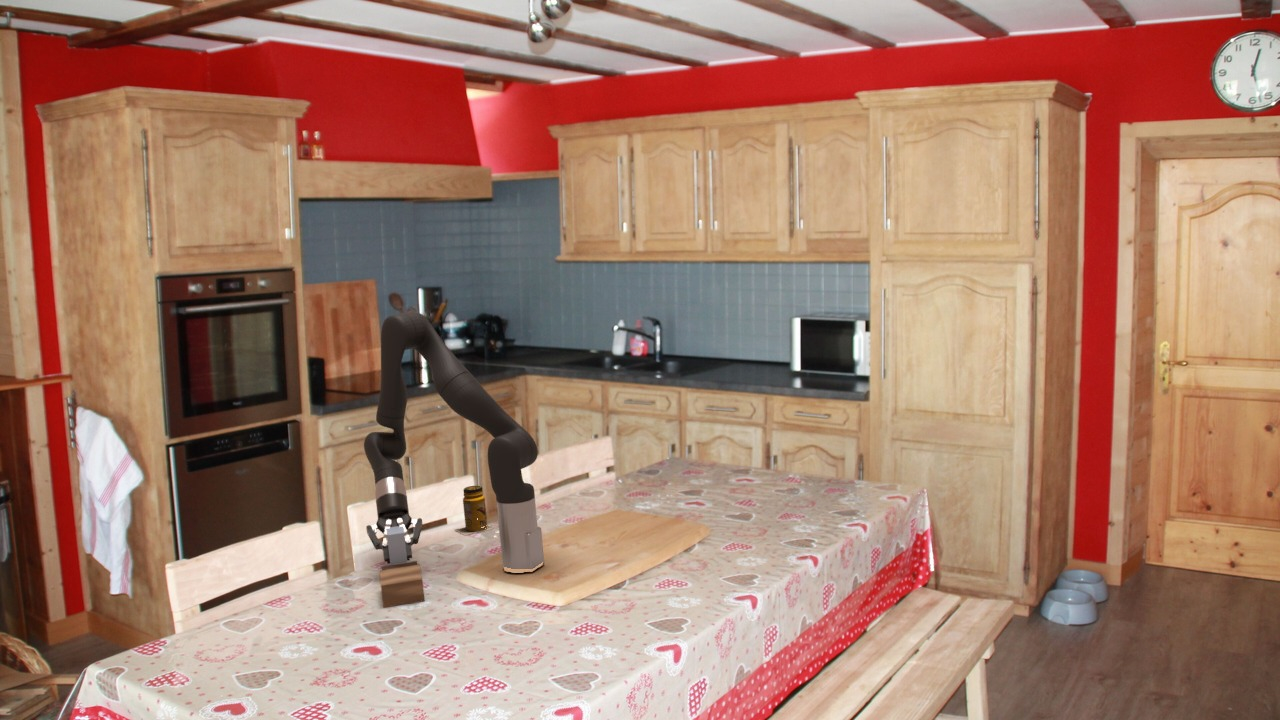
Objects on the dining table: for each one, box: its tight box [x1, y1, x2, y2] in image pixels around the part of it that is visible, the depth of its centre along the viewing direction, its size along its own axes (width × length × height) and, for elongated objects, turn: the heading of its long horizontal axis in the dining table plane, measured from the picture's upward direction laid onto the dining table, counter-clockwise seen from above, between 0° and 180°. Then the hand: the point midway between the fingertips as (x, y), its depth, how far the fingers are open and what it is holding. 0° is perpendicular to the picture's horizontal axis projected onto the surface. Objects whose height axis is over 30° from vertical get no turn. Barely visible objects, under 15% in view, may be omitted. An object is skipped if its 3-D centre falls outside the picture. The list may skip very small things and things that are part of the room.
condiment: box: [454, 485, 494, 536], centre depth 290 cm, size 7×8×12 cm
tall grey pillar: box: [386, 526, 408, 565], centre depth 251 cm, size 7×4×12 cm, turn 15°
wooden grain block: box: [379, 560, 425, 608], centre depth 242 cm, size 20×9×6 cm, turn 15°
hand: (398, 560), depth 249 cm, fingers closed on tall grey pillar, 4 cm apart
